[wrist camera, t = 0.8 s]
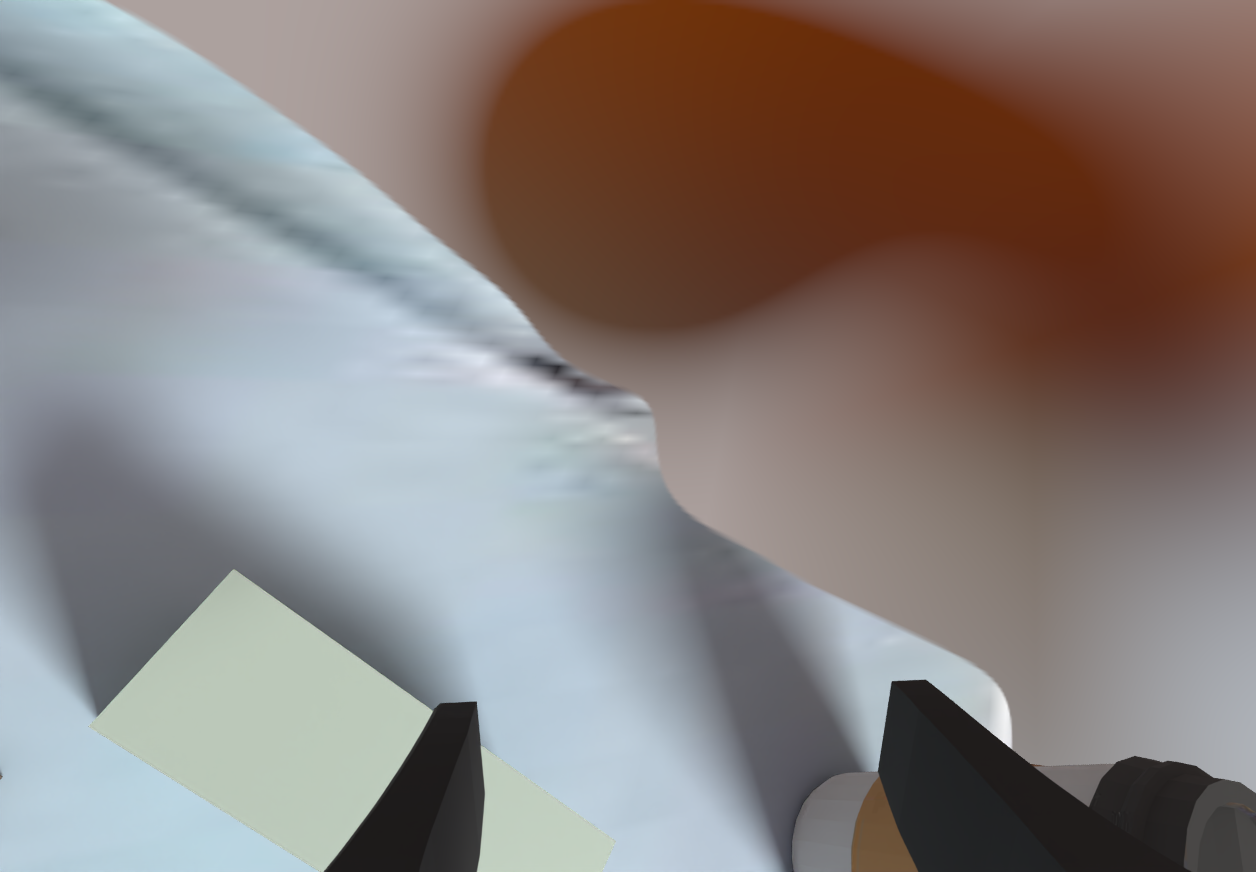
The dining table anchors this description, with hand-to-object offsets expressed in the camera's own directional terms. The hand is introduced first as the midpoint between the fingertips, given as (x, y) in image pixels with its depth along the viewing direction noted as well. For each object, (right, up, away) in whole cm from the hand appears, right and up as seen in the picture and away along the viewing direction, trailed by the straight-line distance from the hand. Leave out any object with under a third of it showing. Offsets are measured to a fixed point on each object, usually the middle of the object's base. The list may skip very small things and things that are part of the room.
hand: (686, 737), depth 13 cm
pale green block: (-10, -5, +10) cm, 15 cm away
